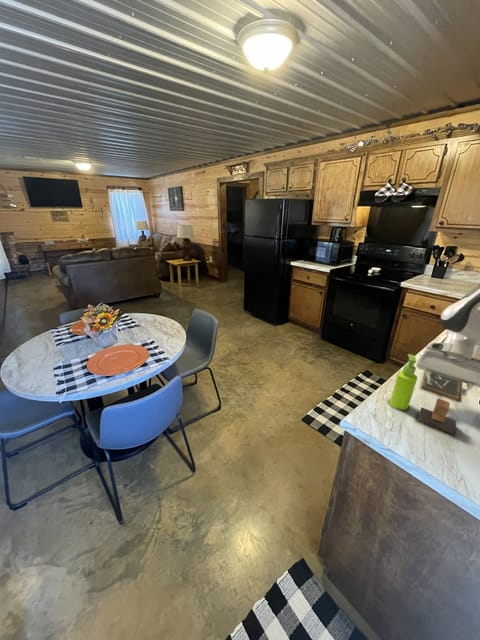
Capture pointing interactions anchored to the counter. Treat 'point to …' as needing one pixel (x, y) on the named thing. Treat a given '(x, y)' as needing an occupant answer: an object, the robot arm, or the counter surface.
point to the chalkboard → (443, 386)
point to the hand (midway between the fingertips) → (445, 389)
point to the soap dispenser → (404, 385)
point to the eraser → (438, 417)
